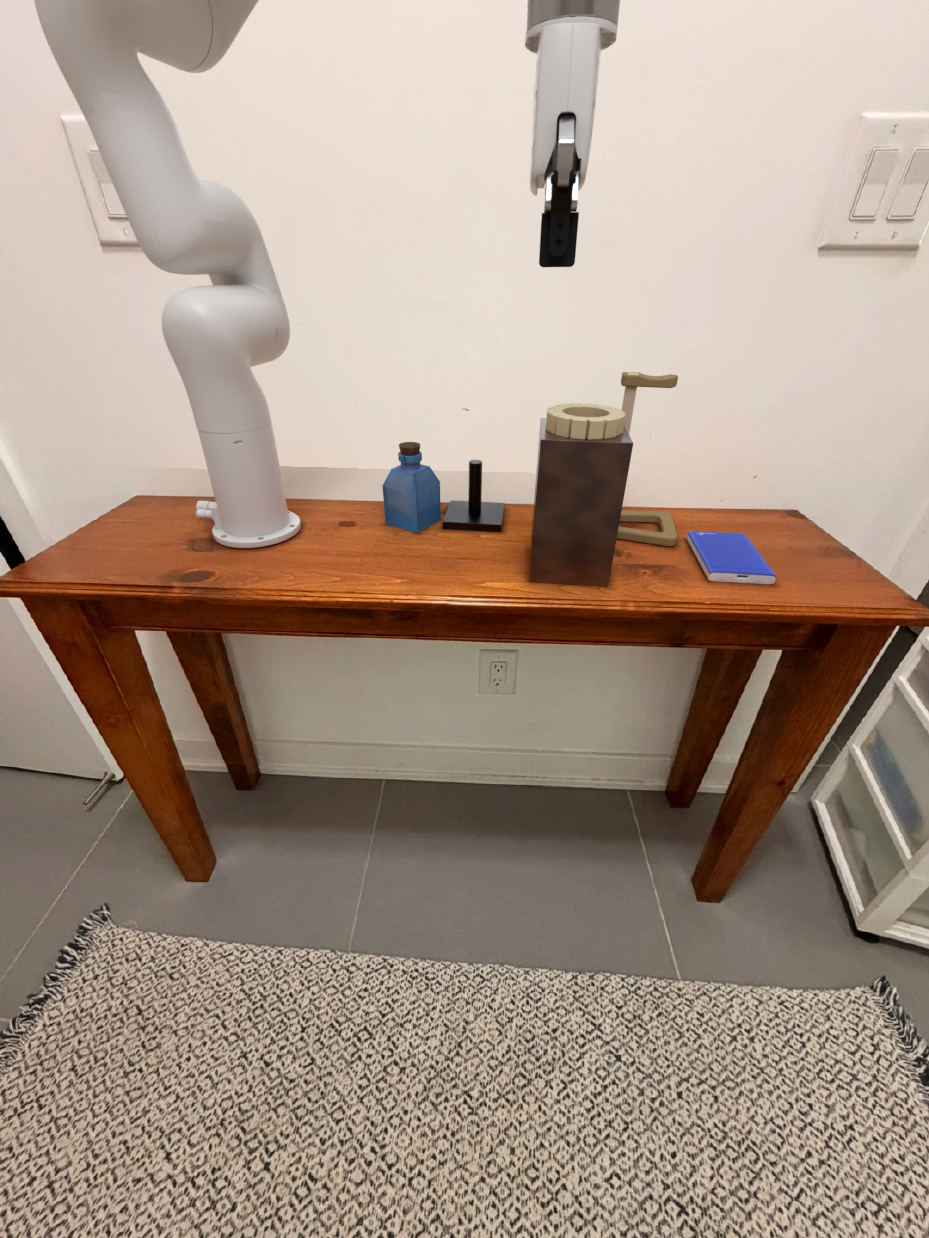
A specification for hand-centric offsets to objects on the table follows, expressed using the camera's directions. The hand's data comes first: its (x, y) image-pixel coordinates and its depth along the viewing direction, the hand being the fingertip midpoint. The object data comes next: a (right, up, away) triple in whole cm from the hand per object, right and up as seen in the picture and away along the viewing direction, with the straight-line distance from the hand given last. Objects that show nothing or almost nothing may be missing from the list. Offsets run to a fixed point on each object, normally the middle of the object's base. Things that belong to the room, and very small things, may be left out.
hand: (555, 266), depth 54 cm
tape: (+5, -13, +10) cm, 17 cm away
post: (-7, -19, +33) cm, 39 cm away
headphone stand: (+17, -21, +30) cm, 40 cm away
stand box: (+5, -28, +19) cm, 34 cm away
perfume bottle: (-17, -20, +32) cm, 41 cm away
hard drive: (+27, -27, +21) cm, 44 cm away
